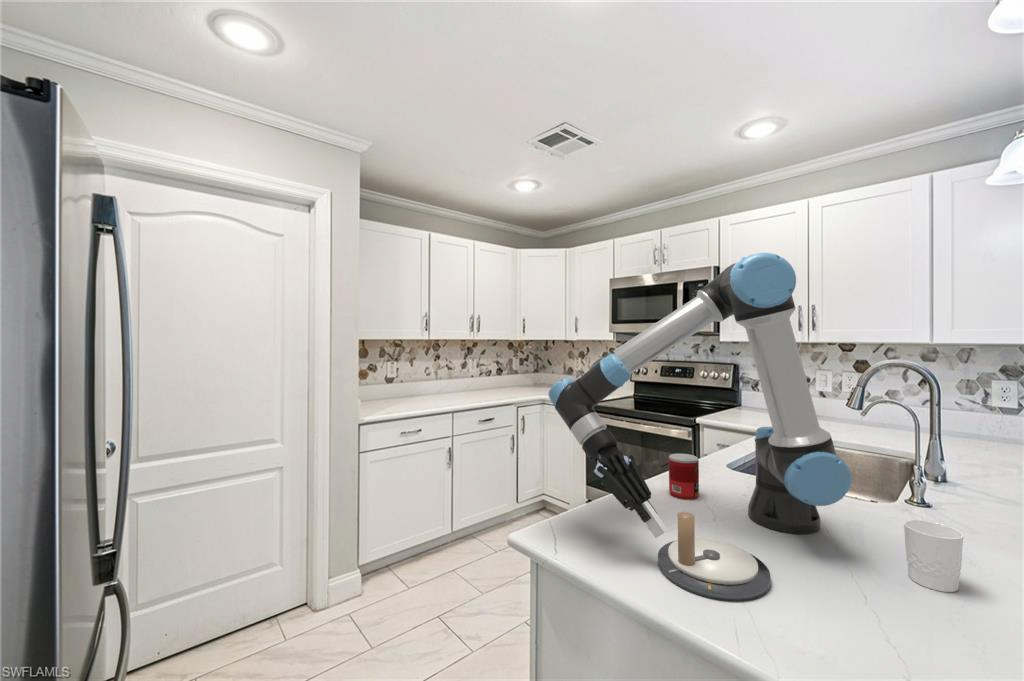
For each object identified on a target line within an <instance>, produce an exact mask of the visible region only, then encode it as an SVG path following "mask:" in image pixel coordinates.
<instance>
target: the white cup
mask: <svg viewBox="0 0 1024 681" xmlns="http://www.w3.org/2000/svg"><path fill="white" fill-rule="evenodd" d="M903 528H904V545H905V547H904V548H905V556H906V557H905V560H906V562H907V576H908V577H909V578H910V579H911V581H913V582H914V583H916V584H919V585H920V586H921V587H925V588H927V589H930V590H934V591H938V592H941V593H954V592H957V591H959V586H960V585H959V582H960V576H961V574H962V572H961V570H962V564H963V562H962V561H963V549H964V548H963V544H964V534H963V533H962V532H961V531H960V530H958V529H956V528H954V527H952V526H949V525H946V524H943V523H940V522H935V521H929V520H925V519H924V520H923V519H908V520H905V521H904V522H903Z"/></svg>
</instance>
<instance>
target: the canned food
mask: <svg viewBox="0 0 1024 681" xmlns="http://www.w3.org/2000/svg"><path fill="white" fill-rule="evenodd" d="M699 463H700V462H699V457H698V456H695V455H694V454H689V453H671V454H669V456H668V485H669V486H668V490H669V491H668V492H669V494H670V495H671V496H672V497H674V498H676V497H677V499H681V500H687V499H690V500H696V499H697V498H698V497H699V495H700V490H699V488H700V485H699V484H700V483H699V482H700V480H699V479H700V478H699V476H700V474H699V473H700V472H699V470H700V469H699V468H700V467H699V466H700V464H699Z"/></svg>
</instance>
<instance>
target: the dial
mask: <svg viewBox="0 0 1024 681" xmlns="http://www.w3.org/2000/svg"><path fill="white" fill-rule="evenodd" d="M695 526H696V525H695V515H694V514H692V513H690V512H685V511H682V512H678V513H677V539H676V540H677V541H676V540H673V541H674V542H673V541H672V542H673V543H672V544H671V545H670V546H669V548H668V557H669V560H670V561H671V563H672V564H673V565H674V566H675V567H676V568H677V569H679V570H680V571H682V572H683V573H685V574H687V575H689V576H691V577H694V578H697V579H699V580H703V581H706V582H711V583H716V584H724V585H737V584H743V583H747V582H750V581H752V580H754V579H755V578H756V577H757V575H758V563H757V561H756V560H755V558H754V557H753V556H754V555H753V554H752V555H753V556H752V555H751V553H750V552H748V551H747V550H745V549H744V548H741V547H739V546H737V545H735V544H732V543H730V542H726V541H724V540H719V539H714V538H710V537H709V538H708V537H699V536H698V537H697V536H696V537H695V534H696V533H695V532H696V531H695V528H696V527H695ZM749 553H750V554H749Z"/></svg>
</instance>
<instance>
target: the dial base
mask: <svg viewBox="0 0 1024 681" xmlns="http://www.w3.org/2000/svg"><path fill="white" fill-rule="evenodd" d="M677 540H678V539H676V540H673V541H669V542H667V543H665V544H664V545H663V546H662V547H660V548H659V550H658V551H657V552H658V553H657V564H658V569H659V570H660V572H661V574H662V575H663V576H664V577H665V578H666V579H667V580H668V581H669V582H671V584H673V585H675V586H677V587H679V588H680V589H683V590H685V591H686V592H689V593H691V594H694V595H697V596H700V597H703V598H707V599H711V600H714V601H715V600H717V601H720V602H721V601H723V602H733V603H735V602H737V603H739V602H747V601H754V600H758V599H760V598H762V597H764V596H765V595H767V593H768V592H769V591H770V589H771V578H772V577H771V572H770V569H769V568H768V567H767V565H766V564H765V563H764V562H762V560H760V559H759V558H758V557H757V556H755V555H753V554H751V553H750V552H748V553H749V554H751V555H752V556H753V557H754V558H755V560H756V561H757V563H758V575H757V577H756V578H755V579H754V580H752V581H750V582H747V583H743V584H737V585H724V584H716V583H711V582H706V581H703V580H699V579H697V578H694V577H691V576H689V575H687V574H685V573H683V572H682V571H680V570H679V569H677V568H676V567H675V566H674V565H673V564H672V563H671V561H670V560H669V557H668V548H669V546H670V545H671V544H672V543H673V542H674V541H677Z"/></svg>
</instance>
